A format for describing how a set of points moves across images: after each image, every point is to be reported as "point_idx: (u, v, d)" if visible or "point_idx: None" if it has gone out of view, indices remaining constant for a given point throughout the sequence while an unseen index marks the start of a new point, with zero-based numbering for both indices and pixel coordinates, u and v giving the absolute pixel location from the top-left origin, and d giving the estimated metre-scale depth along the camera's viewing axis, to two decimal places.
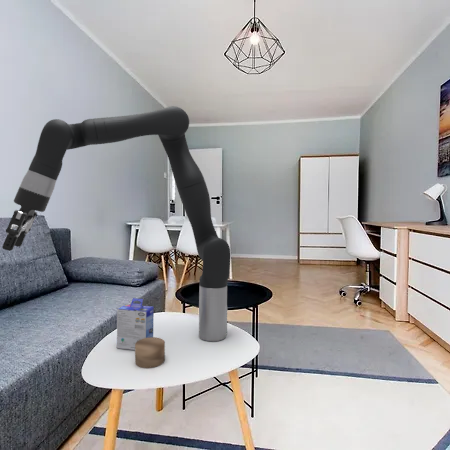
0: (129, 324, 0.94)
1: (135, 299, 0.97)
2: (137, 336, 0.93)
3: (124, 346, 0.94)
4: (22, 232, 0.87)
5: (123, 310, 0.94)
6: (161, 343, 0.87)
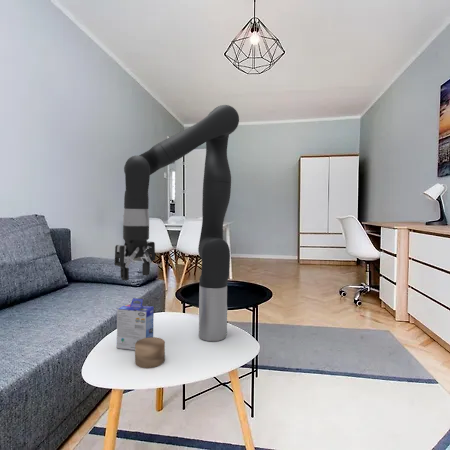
0: (129, 324, 0.94)
1: (135, 299, 0.97)
2: (137, 336, 0.93)
3: (124, 346, 0.94)
4: (146, 262, 0.98)
5: (123, 310, 0.94)
6: (161, 343, 0.87)
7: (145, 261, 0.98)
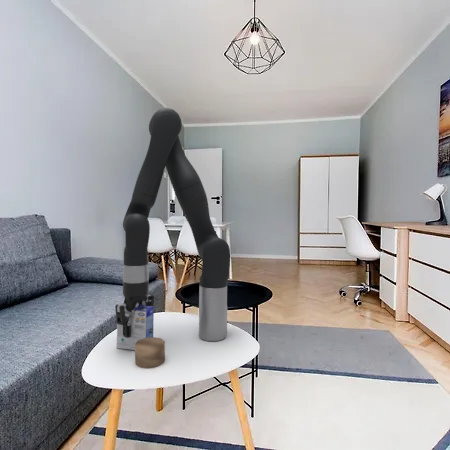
0: None
1: None
2: (137, 336, 0.93)
3: (124, 346, 0.94)
4: None
5: None
6: (161, 343, 0.87)
7: None
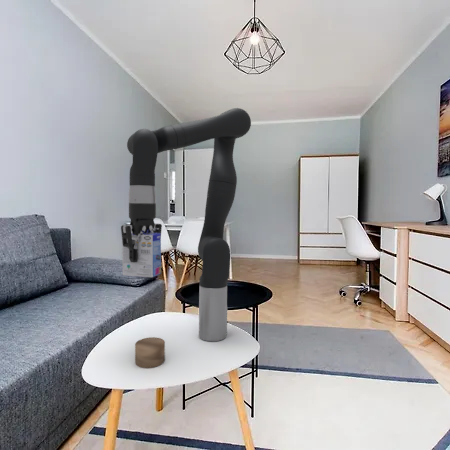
0: None
1: None
2: (143, 261, 0.88)
3: (130, 273, 0.89)
4: None
5: None
6: (161, 343, 0.87)
7: None
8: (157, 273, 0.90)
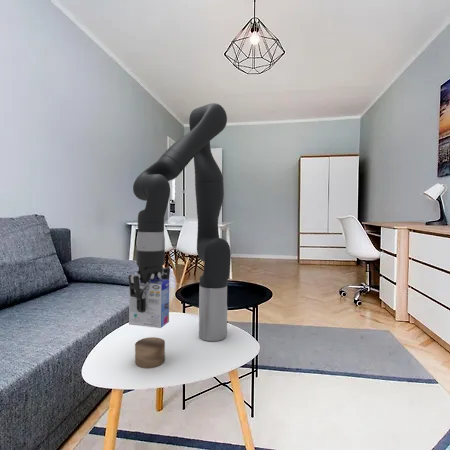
0: None
1: None
2: (151, 311, 0.84)
3: (137, 323, 0.85)
4: None
5: None
6: (161, 343, 0.87)
7: None
8: (165, 322, 0.86)
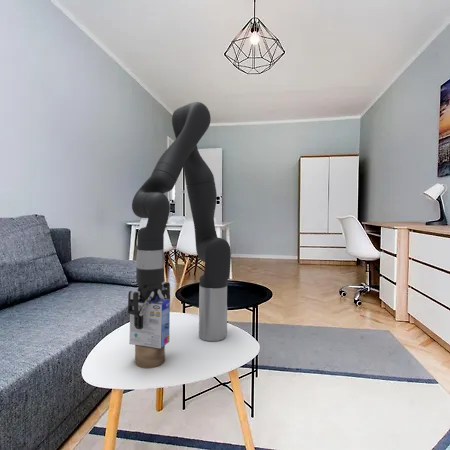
0: (143, 318, 0.85)
1: None
2: (151, 331, 0.84)
3: (138, 343, 0.85)
4: None
5: None
6: None
7: None
8: (165, 342, 0.86)
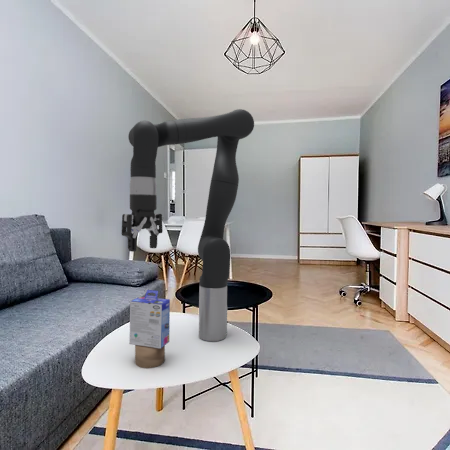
0: (143, 318, 0.85)
1: (150, 291, 0.88)
2: (151, 331, 0.84)
3: (138, 343, 0.85)
4: (153, 234, 0.94)
5: (136, 302, 0.85)
6: None
7: (152, 233, 0.95)
8: (165, 342, 0.86)
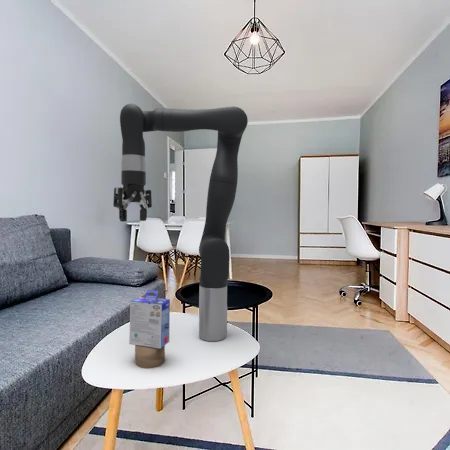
0: (143, 318, 0.85)
1: (150, 291, 0.88)
2: (151, 331, 0.84)
3: (138, 343, 0.85)
4: (143, 208, 1.05)
5: (136, 302, 0.85)
6: None
7: (142, 207, 1.05)
8: (165, 342, 0.86)
